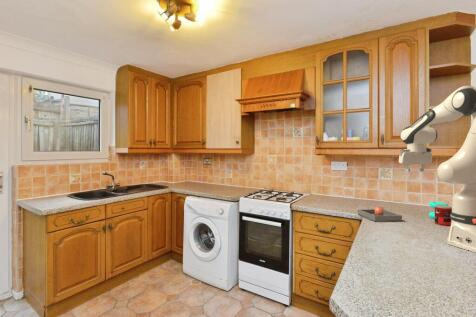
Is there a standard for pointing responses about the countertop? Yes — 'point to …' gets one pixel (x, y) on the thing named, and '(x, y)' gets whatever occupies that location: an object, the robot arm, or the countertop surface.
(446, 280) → the countertop surface
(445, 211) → the canned food
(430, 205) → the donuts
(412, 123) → the robot arm
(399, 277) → the countertop surface
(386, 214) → the grey bin
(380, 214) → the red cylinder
